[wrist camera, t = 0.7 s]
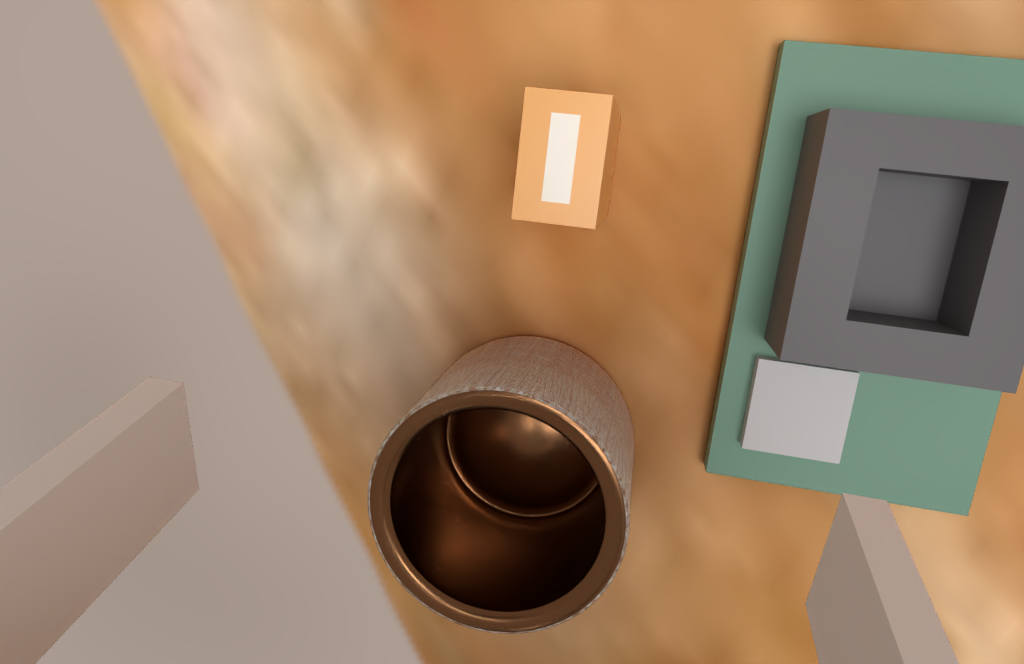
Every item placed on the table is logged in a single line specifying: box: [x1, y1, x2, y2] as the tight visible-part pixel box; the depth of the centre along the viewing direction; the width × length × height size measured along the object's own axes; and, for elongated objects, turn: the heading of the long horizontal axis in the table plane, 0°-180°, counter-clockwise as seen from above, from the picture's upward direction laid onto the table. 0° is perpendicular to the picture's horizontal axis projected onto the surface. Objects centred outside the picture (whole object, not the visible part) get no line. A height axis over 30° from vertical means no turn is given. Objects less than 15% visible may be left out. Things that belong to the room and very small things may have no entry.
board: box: [704, 40, 1024, 516], centre depth 31 cm, size 20×12×5 cm, turn 173°
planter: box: [368, 336, 634, 634], centre depth 33 cm, size 11×11×10 cm
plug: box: [511, 87, 621, 229], centre depth 30 cm, size 4×3×10 cm, turn 173°
